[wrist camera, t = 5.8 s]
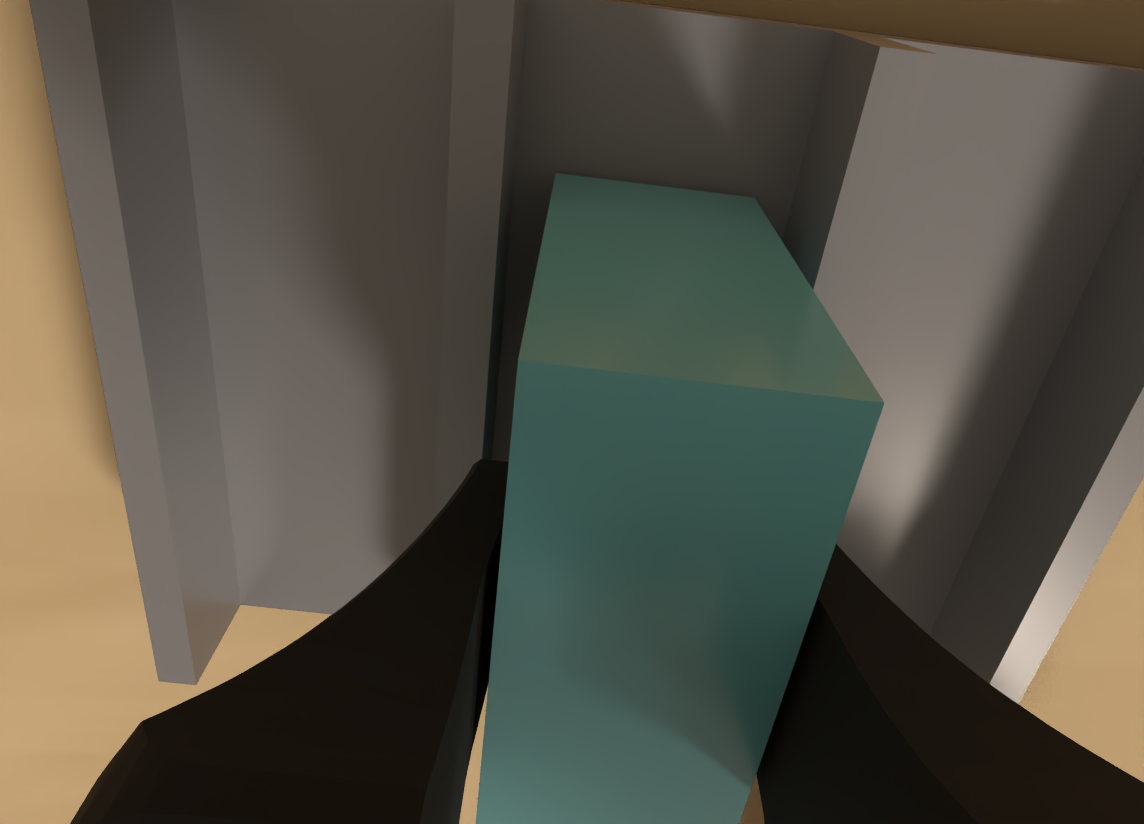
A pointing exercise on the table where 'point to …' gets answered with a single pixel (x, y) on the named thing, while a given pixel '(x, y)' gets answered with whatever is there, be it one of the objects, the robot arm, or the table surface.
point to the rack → (509, 260)
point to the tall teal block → (661, 507)
